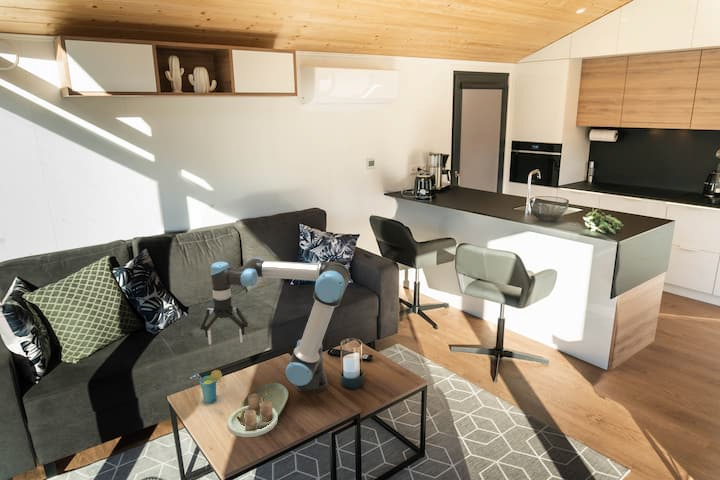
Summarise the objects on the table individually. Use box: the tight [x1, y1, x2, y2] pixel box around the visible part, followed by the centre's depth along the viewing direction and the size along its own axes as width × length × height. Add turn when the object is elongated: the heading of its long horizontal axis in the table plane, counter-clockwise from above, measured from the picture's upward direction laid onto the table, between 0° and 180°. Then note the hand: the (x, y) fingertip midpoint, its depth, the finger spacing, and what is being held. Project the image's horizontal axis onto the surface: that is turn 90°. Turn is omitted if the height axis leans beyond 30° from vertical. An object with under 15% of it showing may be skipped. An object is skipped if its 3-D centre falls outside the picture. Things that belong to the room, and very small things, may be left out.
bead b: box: [244, 410, 257, 431], centre depth 198 cm, size 5×5×8 cm
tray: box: [227, 405, 279, 438], centre depth 204 cm, size 20×20×2 cm
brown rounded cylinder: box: [259, 400, 273, 422], centre depth 204 cm, size 5×5×8 cm
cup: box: [189, 369, 223, 405], centre depth 219 cm, size 14×8×15 cm, turn 128°
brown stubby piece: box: [247, 393, 261, 415], centre depth 209 cm, size 5×5×8 cm
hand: (225, 342), depth 219 cm, fingers open, 13 cm apart
